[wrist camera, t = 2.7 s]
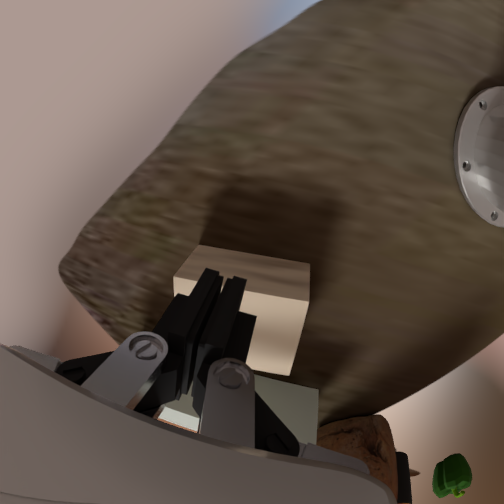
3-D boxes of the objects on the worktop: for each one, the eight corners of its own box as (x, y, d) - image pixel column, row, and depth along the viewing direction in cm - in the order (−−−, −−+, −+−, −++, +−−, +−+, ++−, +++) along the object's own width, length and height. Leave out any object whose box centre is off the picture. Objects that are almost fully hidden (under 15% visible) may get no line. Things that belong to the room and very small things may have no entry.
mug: (336, 467, 42) (333, 517, 33) (397, 446, 37) (402, 500, 28) (357, 478, 44) (356, 522, 35) (413, 459, 39) (418, 506, 30)
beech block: (199, 243, 27) (173, 276, 22) (310, 262, 26) (309, 301, 21) (198, 313, 31) (177, 352, 26) (294, 332, 30) (289, 375, 25)
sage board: (141, 337, 34) (110, 383, 27) (318, 389, 33) (316, 445, 26) (142, 353, 35) (114, 398, 28) (309, 403, 34) (305, 456, 27)
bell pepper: (445, 469, 41) (450, 506, 32) (422, 467, 40) (427, 508, 32) (475, 449, 37) (484, 489, 28) (454, 447, 37) (462, 491, 28)
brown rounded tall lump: (326, 445, 39) (317, 561, 21) (307, 424, 37) (290, 557, 19) (394, 427, 35) (403, 550, 17) (382, 402, 33) (392, 547, 15)
